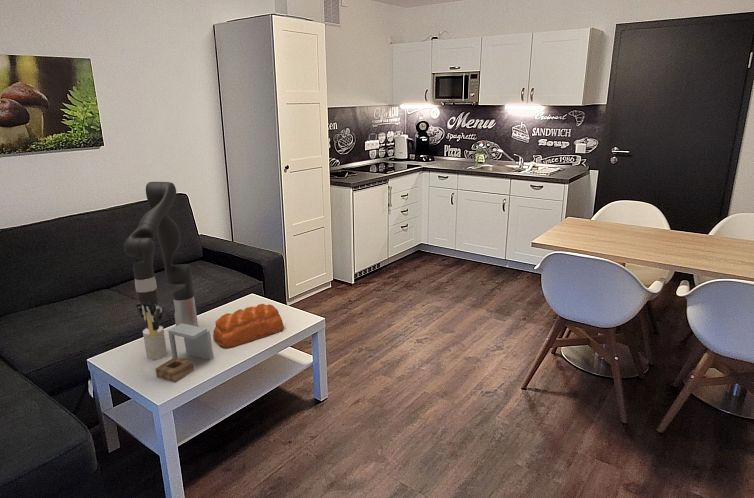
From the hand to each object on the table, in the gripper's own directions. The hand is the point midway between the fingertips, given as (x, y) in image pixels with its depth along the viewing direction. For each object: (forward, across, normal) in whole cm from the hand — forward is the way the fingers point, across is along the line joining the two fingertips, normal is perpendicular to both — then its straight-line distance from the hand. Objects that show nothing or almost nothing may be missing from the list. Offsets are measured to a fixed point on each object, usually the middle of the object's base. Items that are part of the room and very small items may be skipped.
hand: (153, 328), depth 199 cm
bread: (+20, +10, +43) cm, 48 cm away
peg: (+3, 0, 0) cm, 3 cm away
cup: (+20, -14, +10) cm, 26 cm away
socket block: (+19, +7, +2) cm, 21 cm away
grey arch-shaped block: (+19, +4, +13) cm, 23 cm away
